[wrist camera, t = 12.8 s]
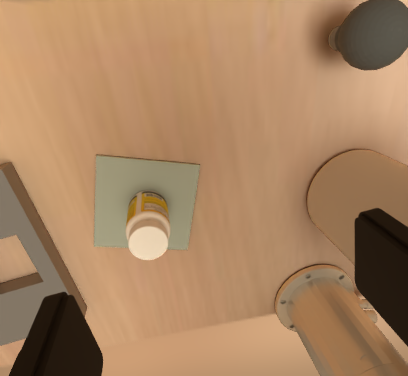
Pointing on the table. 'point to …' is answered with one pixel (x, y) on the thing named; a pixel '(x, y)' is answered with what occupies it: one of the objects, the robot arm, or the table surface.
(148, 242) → the supplement bottle
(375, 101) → the table surface
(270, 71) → the table surface
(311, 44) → the table surface
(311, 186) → the cylinder vase
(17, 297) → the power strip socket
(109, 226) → the rubber mat
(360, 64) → the light bulb
